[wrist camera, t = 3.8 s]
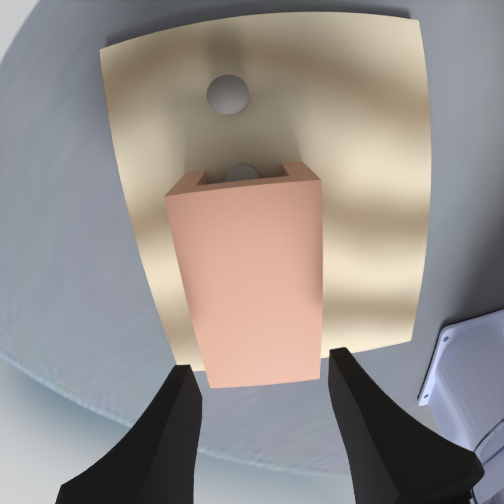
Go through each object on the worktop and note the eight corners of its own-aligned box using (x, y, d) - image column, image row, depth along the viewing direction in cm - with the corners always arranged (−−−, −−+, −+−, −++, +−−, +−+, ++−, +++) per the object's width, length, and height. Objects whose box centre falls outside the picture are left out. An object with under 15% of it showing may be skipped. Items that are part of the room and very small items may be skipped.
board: (406, 333, 20) (424, 364, 17) (181, 363, 21) (174, 399, 18) (411, 23, 12) (443, 10, 9) (105, 51, 12) (75, 42, 9)
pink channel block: (307, 330, 19) (319, 378, 15) (215, 339, 19) (210, 388, 15) (302, 161, 15) (321, 179, 11) (184, 174, 15) (164, 196, 11)
